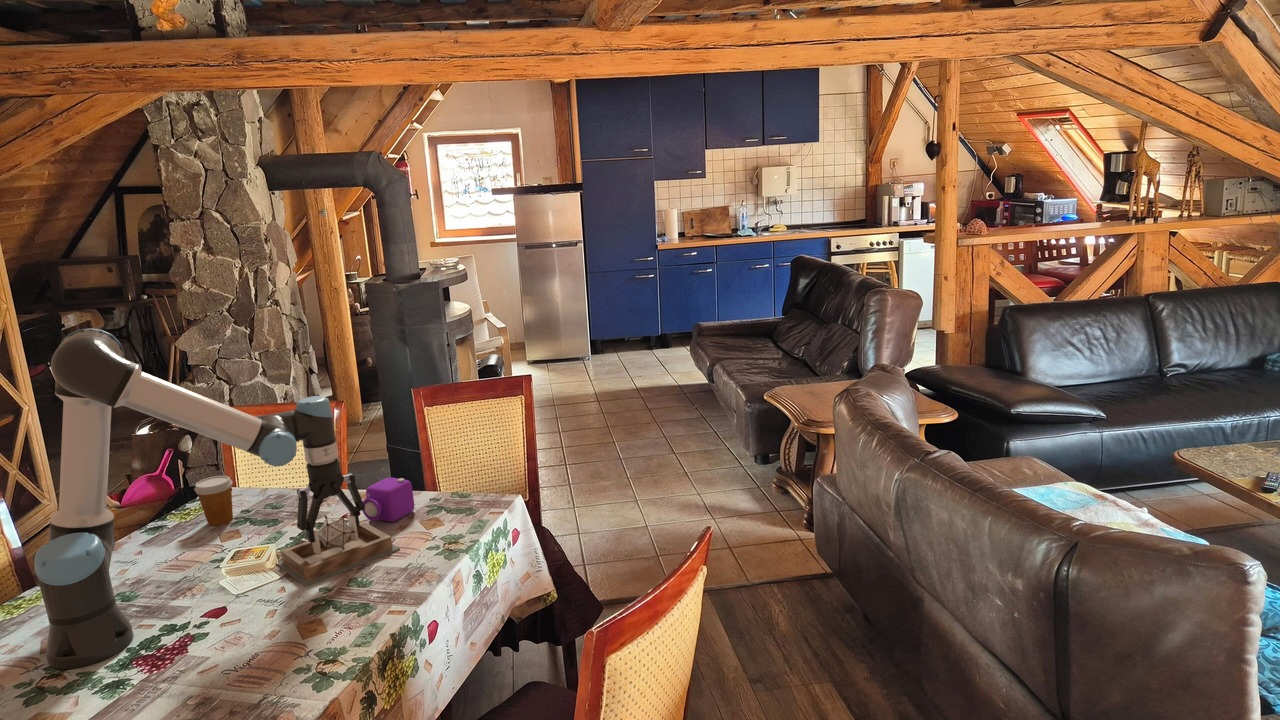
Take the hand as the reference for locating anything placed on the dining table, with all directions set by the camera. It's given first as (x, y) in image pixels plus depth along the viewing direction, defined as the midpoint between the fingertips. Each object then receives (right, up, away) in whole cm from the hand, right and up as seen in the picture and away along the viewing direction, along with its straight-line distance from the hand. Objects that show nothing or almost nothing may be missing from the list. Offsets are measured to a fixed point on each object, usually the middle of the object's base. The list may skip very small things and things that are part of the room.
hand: (336, 546), depth 209 cm
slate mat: (0, -3, +1) cm, 3 cm away
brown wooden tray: (0, -3, +1) cm, 3 cm away
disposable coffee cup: (-42, +1, +28) cm, 51 cm away
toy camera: (+6, +3, +23) cm, 24 cm away
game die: (0, -1, 0) cm, 1 cm away
